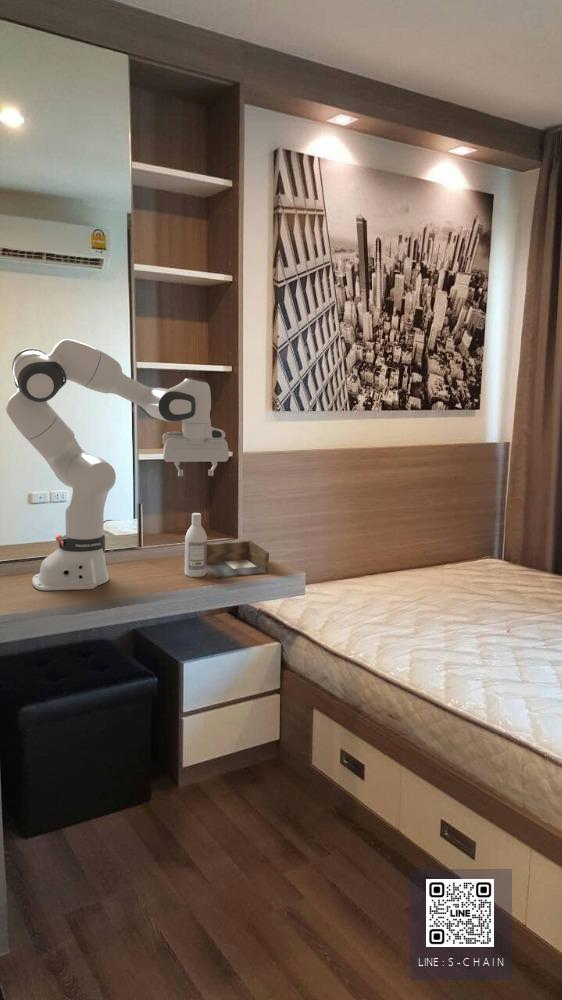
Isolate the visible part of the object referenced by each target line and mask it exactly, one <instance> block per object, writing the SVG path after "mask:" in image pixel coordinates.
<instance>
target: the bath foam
mask: <svg viewBox="0 0 562 1000" xmlns="http://www.w3.org/2000/svg"><path fill="white" fill-rule="evenodd" d="M186 531H187V532H186V534H185V536H184V575H186V577H190V578H200V577H204V576H206V574H207V570H206V560H207V544H208V537H207V533H206V531H205V529H204V528H203V526H202V514H201V513H200V512H193V513H191V525H190V526H189V528H188V529H187V530H186Z"/></svg>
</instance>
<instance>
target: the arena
mask: <svg viewBox="0 0 562 1000" xmlns="http://www.w3.org/2000/svg"><path fill="white" fill-rule="evenodd" d="M269 561H270V553H269V552H268V551H266V550H265V549H263V548H262V547H260V546H259V545H258V544H256V543H255V542H253V541H252V540H243V541H242V540H241V541H227V542H213V543H207V560H206V572H208V573H210V574H211V575H212V576H213V577H214V578H215V579H225V578H235V577H237V578H238V577H246V576H247V577H248V576H255V575H256V576H257V575H266V574H267V575H268V574H269V564H270V563H269Z"/></svg>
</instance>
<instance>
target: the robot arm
mask: <svg viewBox="0 0 562 1000" xmlns="http://www.w3.org/2000/svg"><path fill="white" fill-rule="evenodd" d="M11 366H12V368H11V369H12V374H13V379H14V384H15V387H16V388H17V391H16V392H15V393H13V395H12V396H11V397H10V398H9V399H8V401H7V402H6V407H5V411H6V413H7V415H8V417H9V419H10V420H11V422H12V423H13V425H14V426H15V428H16V429H17V431H19V433H20V434H21V435H22V436H23V437H24V438H25V439H26V440H27V441H28V443H30V444H31V446H32V447H34V449H35V450H36V451H37V453H39V454H40V456H42V458H43V459H44V460H45V461H46V462H47V464H48V465H49V467H50V469H51V470H52V471H53V472H54V475H55V477H56V478H57V479H58V480H59V481H60V482H61V483H62V484H64V485H65V486H67V487H69V488H72V496H71V499H70V503H69V506H67V507H66V510H65V514H64V515H65V535H61V534H57V535H56V536H55V540H56V542H58V548H57V549H56V550H55V551H54V552H52V553H50V554H49V555H48V556H46V557H45V558H44V559H42V562H41V565H40V568H39V573H37V574H35V575H34V576H33V577H32V578H31V579H32V580H31V583H32V586H33V588H35V589H37V590H39V591H69V590H70V591H71V590H93V589H95V588H97V587H98V586H100V585H102V584H105V583H107V582H108V581H109V580H110V575H109V574H108V570H107V565H106V558H105V557H106V556H105V552H106V536H105V534H104V512H105V505H106V502H107V497H108V494H109V493H110V492H109V491H111V490H112V488H113V487H114V485H115V484H116V479H117V477H116V471H115V468H114V467H113V466H112V465H111V464H110V463H109V462H107V461H106V460H105V459H104V458H101V457H99V456H95V455H92V454H89V453H87V452H86V451H85V450H84V449H82V447H81V446H80V444H79V442H78V441H77V439H76V436H75V433H74V431H73V430H72V429H71V428H70V426H68V424H67V423H66V422H65V421H64V420H63V418H61V416H60V415H59V414H58V413H57V412H56V411H55V409H53V408H52V406H51V405H50V404H49V403H48V401H49V400H51V399H52V398H53V399H54V397H55V396H56V395H57V394H58V393H59V391H60V390H61V389H62V388H63V387H64V386H65V385H66V384H67V381H71V382H74V383H76V384H78V385H80V386H82V387H84V388H87V389H89V390H91V391H94V392H98V393H102V394H113V395H116V396H119V397H121V398H124V399H125V400H126V401H130V402H131V403H134V404H135V405H137V406H138V407H139V408H140V409H141V411H142V412H143V413H144V414H145V415H147V416H148V417H149V418H151V419H152V420H159V421H165V422H170V423H173V422H174V423H176V422H179V421H181V431H178V430H177V431H167V432H165V433H164V434H163V435H162V439H161V443H162V446H163V450H162V451H163V452H162V453H163V454H162V458H163V459H162V460H164V461H165V462H166V463H169V462H170V463H171V462H173V463H174V466H175V468H176V470H177V476H178V477H184V469H181V468H180V465H181V464H180V463H182V462H184V463H190V462H191V463H193V462H194V463H195V462H197V463H199V462H201V463H202V462H206V463H207V462H211V465H212V466H211V468H210V469H207V471H208V473H207V475H208V476H209V477H210V476H211V477H213V476H214V475H215V474H214V471H215V469H216V468H217V466H218V462H221V463H222V462H224V463H225V462H227V461H228V460H229V457H230V453H229V446H228V445H229V444H228V442H227V440H226V439H225V438H226V432H225V431H224V430H223V429H220V428H218V427H215V426H212V421H211V416H210V415H211V414H210V413H211V411H212V396H211V387H210V384H209V383H208V382H207V381H206V380H203V379H198V378H192V377H187V378H184V380H183V381H181V382H179V384H177V385H174V386H171V387H170V388H164V387H161V386H148V385H145V384H143V383H141V382H139V381H137V380H135V379H133V378H131V377H129V376H128V375H126V374H125V373H123V369H122V365H121V364H120V363H119V361H117V360H116V359H114V358H113V357H112V356H111V355H109V354H107V353H105V352H103V350H102V351H101V350H99V349H98V348H95V347H94V346H91V345H89V344H86V343H83V342H80V341H77V340H74V339H62V340H60V341H59V342H58V343H56V344H55V346H54V347H53V349H52V351H51V352H50V353H49V354H46V352H43V351H42V350H40V349H37V348H30V347H29V348H25V349H22V350H21V351H19V352H18V353H17V354H16V355H15V356H14V358H13V361H12V365H11Z"/></svg>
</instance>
